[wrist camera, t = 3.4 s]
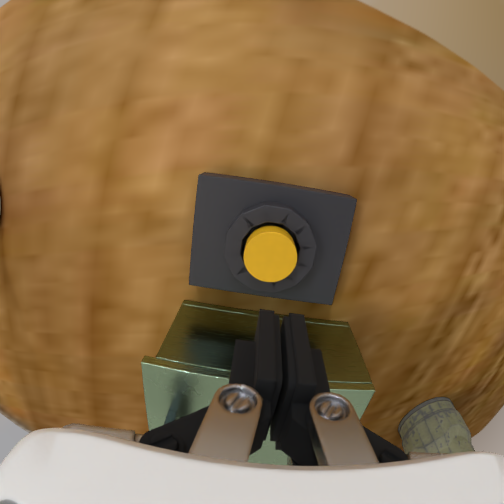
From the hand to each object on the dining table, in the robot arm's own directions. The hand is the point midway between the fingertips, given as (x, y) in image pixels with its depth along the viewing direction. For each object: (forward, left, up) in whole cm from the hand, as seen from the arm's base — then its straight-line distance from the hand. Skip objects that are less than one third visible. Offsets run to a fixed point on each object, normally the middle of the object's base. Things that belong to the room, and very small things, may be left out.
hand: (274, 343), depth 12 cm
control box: (0, 0, -15) cm, 15 cm away
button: (0, 0, -11) cm, 11 cm away
